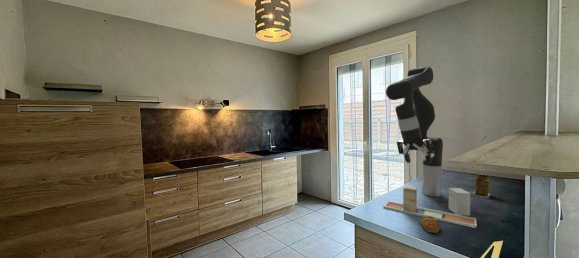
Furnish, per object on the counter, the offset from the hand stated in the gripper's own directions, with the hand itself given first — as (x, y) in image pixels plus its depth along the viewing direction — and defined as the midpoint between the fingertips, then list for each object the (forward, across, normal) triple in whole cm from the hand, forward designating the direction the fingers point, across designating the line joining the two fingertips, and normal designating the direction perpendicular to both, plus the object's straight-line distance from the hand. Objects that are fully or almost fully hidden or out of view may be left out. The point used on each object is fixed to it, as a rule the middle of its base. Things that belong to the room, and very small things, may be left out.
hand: (418, 162), depth 100 cm
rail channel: (+27, +4, -2) cm, 27 cm away
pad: (+27, +1, -2) cm, 27 cm away
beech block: (+25, +10, 0) cm, 27 cm away
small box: (+32, -4, -15) cm, 35 cm away
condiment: (+42, -2, -52) cm, 67 cm away
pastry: (+24, -4, +11) cm, 27 cm away
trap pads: (+27, +4, -2) cm, 27 cm away
